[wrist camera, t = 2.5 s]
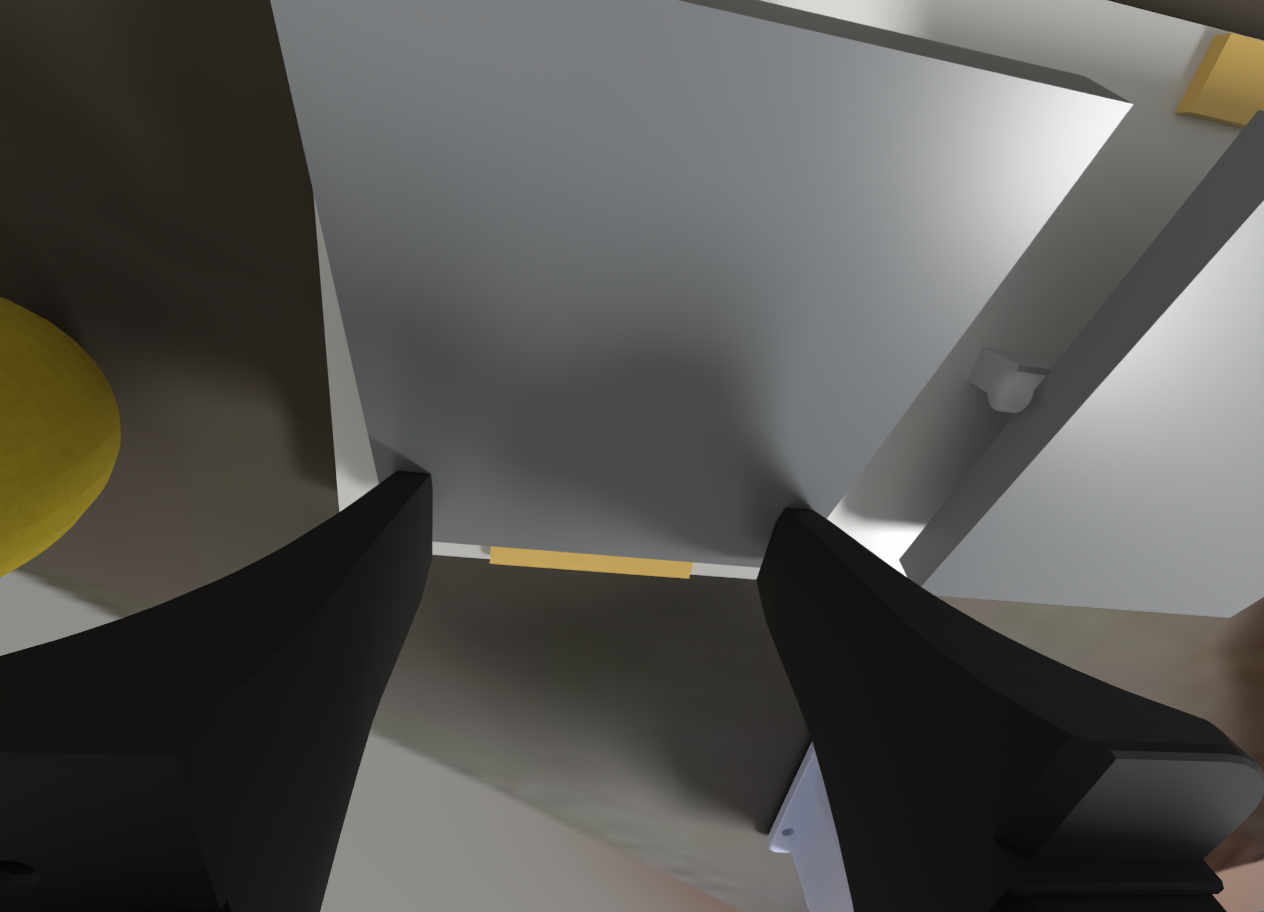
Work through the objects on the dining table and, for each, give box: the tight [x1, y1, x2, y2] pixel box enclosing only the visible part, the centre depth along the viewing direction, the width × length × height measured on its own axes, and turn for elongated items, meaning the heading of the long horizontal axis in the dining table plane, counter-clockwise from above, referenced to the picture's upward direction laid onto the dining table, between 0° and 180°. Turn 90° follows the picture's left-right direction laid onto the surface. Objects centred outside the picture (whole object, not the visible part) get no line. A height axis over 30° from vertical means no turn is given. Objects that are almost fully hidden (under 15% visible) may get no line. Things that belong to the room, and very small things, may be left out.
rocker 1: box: [270, 0, 1133, 568], centre depth 10 cm, size 10×10×2 cm
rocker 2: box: [899, 110, 1264, 618], centre depth 12 cm, size 10×10×2 cm
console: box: [313, 0, 1264, 579], centre depth 13 cm, size 13×24×3 cm, turn 81°
